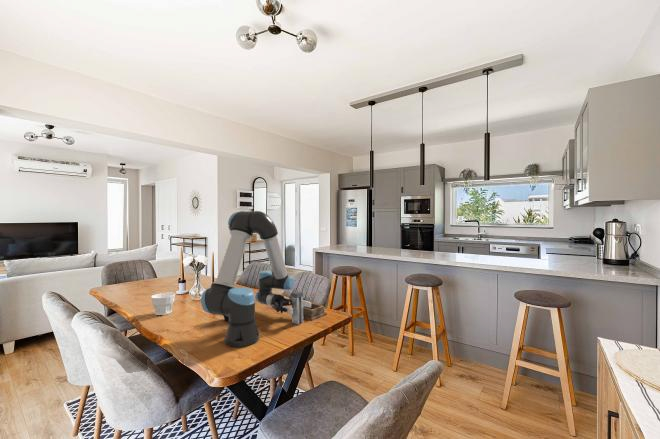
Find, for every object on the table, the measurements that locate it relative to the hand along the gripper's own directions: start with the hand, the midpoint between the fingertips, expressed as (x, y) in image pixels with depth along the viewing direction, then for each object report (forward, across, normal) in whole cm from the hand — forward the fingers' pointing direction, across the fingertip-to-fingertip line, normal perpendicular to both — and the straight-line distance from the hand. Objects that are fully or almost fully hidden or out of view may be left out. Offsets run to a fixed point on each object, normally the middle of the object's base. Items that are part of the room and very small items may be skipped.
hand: (301, 308), depth 154 cm
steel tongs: (-3, 0, -8) cm, 9 cm away
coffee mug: (-37, +21, -9) cm, 44 cm away
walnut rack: (-5, -13, -8) cm, 16 cm away
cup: (-76, +40, -9) cm, 87 cm away
